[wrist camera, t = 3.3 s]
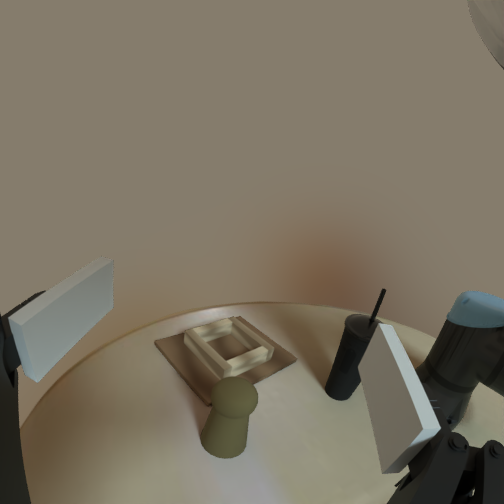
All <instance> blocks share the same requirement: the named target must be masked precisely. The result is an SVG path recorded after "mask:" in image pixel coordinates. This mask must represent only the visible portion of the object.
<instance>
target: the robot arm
mask: <svg viewBox="0 0 504 504" xmlns="http://www.w3.org/2000/svg"><path fill="white" fill-rule="evenodd" d="M467 1H468V7H469V12H470V15H471V18H472V21H473V23H474V25H475V28H476V30H477V32H478V33H479V35H480V37H481V39H482V41H483V42H484V44H485V45H486V47H487V48H488V50H489V51H490V53H491V54H492V55H493V57H494V58H495V60H496V61H497V62H498V63H499V65H500V66H501V67H502V68H503V69H504V0H467ZM113 262H114V261H113V260H112V259H109V258H106V257H102V256H101V257H99V258H98V259H96V260H94V261H93V262H91V263H89V264H88V265H86V266H85V267H83V268H81V269H80V270H78V271H77V272H75V273H73V274H72V275H70V276H69V277H67V278H66V279H64V280H63V281H61V282H59V283H58V284H57V285H55V286H53V287H52V288H51V289H49V290H47V291H42V292H39V293H37V294H34V295H33V296H31V297H30V298H28V300H25V301H24V302H23V303H21V304H19V305H18V306H16V307H15V308H13V309H12V310H11V311H9V312H8V313H6V314H5V315H3V316H2V317H1V314H0V504H31V501H30V496H29V492H28V487H27V482H26V477H25V471H24V464H23V457H22V449H21V440H20V429H19V412H18V372H17V369H16V368H17V367H18V366H19V365H22V368H23V371H24V374H25V375H26V376H28V377H29V378H31V379H33V380H34V381H35V382H37V383H38V382H39V381H40V380H41V379H42V378H43V377H44V376H45V375H46V374H47V373H48V372H49V370H51V369H52V368H53V366H54V365H55V364H56V363H57V362H58V361H59V360H60V359H61V358H62V357H63V356H64V355H65V354H66V353H67V352H68V351H69V350H70V349H71V348H72V347H73V346H74V345H75V344H76V343H77V342H78V341H79V340H80V339H81V338H82V337H83V336H84V335H85V334H86V333H87V332H88V331H89V330H90V329H91V328H92V327H94V326H95V324H97V323H98V322H99V321H100V320H101V319H102V318H103V317H104V316H105V315H106V314H107V313H108V312H109V311H110V310H111V309H112V308H113V307H114V304H113ZM358 370H359V374H360V377H361V381H362V385H363V389H364V393H365V397H366V401H367V405H368V409H369V414H370V418H371V422H372V427H373V431H374V436H375V440H376V445H377V450H378V455H379V460H380V465H381V470H382V474H388V473H399V472H400V471H402V470H403V469H404V468H405V467H406V466H407V465H408V467H409V470H410V472H409V473H408V474H407V475H405V476H404V477H403V478H402V479H401V480H400V481H399V482H398V483H397V484H396V485H395V487H397V486H398V485H399V484H400V485H399V486H398V488H397V489H396V491H395V492H394V494H393V495H392V497H391V498H390V500H389V501H388V503H387V504H504V446H503V445H502V444H501V443H500V442H497V441H495V440H490V441H487V442H486V444H485V445H484V446H483V447H482V448H477V447H471V446H469V443H468V441H467V440H466V439H465V437H463V436H462V435H461V434H459V433H456V432H451V431H452V430H453V429H454V428H455V427H456V426H457V425H458V424H459V422H460V421H461V420H462V418H463V416H464V413H465V411H466V408H467V406H468V403H469V400H470V397H471V394H472V392H473V390H474V389H475V387H476V386H477V384H478V383H479V382H481V383H482V384H484V385H486V386H487V387H489V388H491V389H492V390H494V391H495V392H497V393H498V394H500V395H502V396H503V397H504V300H503V299H501V298H499V297H496V296H494V295H491V294H487V293H483V292H478V291H467V292H463V293H461V294H460V295H459V296H458V297H457V299H456V301H455V303H454V305H453V307H452V309H451V311H450V312H449V313H448V314H447V320H446V321H445V323H444V326H443V328H442V330H441V332H440V334H439V336H438V338H437V339H436V341H435V343H434V345H433V347H432V349H431V350H430V352H429V354H428V356H427V358H426V359H425V361H424V362H423V363H422V364H421V365H420V366H419V367H417V368H416V369H415V370H414V368H413V365H412V363H411V361H410V359H409V357H408V355H407V353H406V351H405V349H404V347H403V345H402V344H401V342H400V340H399V338H398V336H397V334H396V332H395V330H394V328H393V326H392V325H387V324H381V323H378V325H377V328H376V330H375V332H374V334H373V337H372V339H371V341H370V343H369V345H368V347H367V349H366V351H365V354H364V356H363V358H362V360H361V362H360V364H359V366H358ZM474 489H475V492H474V495H473V496H472V493H473V490H474Z"/></svg>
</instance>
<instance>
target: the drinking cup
mask: <svg viewBox="0 0 504 504" xmlns="http://www.w3.org/2000/svg"><path fill="white" fill-rule="evenodd" d="M385 292H386V290H385V289H382V290H381V293H380V296H379V298H378V301H377V303H376V306H375V309H374V311H373V313H372V316H368V315H362V314H353V315H350V316H348V317H347V318H346V320H345V329H344V332H343V335H342V339H341V342H340V345H339V348H338V351H337V354H336V357H335V360H334V363H333V366H332V369H331V372H330V375H329V378H328V381H327V384H326V387H325V390H326V393H327V394H328V395H329V396H330V397H331V398H333V399H336V400H341V401H342V400H347V399H348V398H349V397H350V396H351V395H352V393H353V392H354V391H355V389H356V388H357V386H358V385H359V384H360V382H361V377H360V374H359V370H358V366H359V364H360V362H361V360H362V358H363V356H364V354H365V351H366V349H367V347H368V345H369V343H370V341H371V339H372V337H373V334H374V332H375V330H376V328H377V325H378V323H381V324H384V323H382V322H381V321H379V320H378V319H376V318H375V317H376V315H377V313H378V310H379V307H380V305H381V303H382V300H383V298H384V295H385Z"/></svg>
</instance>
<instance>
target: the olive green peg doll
mask: <svg viewBox="0 0 504 504" xmlns="http://www.w3.org/2000/svg"><path fill="white" fill-rule="evenodd" d="M211 402H212V406H213V407H212V410H211V412H210V414H209V417H208V419H207V422H206V424H205V426H204V429H203V431H202V434H201V438H200V439H201V444H202V446H203V447H204V449H205V450H206V451H207V452H208V453H210V454H211V455H213V456H216V457H219V458H233V457H236V456H238V455H240V454H241V453H242V452H243V451H244V449H245V447H246V441H247V432H248V422H249V415H250V414H251V413H252V412H253V411H254V410H255V408H256V406H257V403H258V393H257V390H256V388H255V387H254V386H253V384H252V383H251V382H249V381H248V380H246V379H244V378H241V377H236V376H231V377H225V378H223V379H221V380H220V381H218V382H217V383H216V384H215V385H214V387H213V388H212V392H211Z"/></svg>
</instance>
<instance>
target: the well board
mask: <svg viewBox="0 0 504 504" xmlns="http://www.w3.org/2000/svg"><path fill="white" fill-rule="evenodd" d="M155 345H156V347H157V348H158V349H159V350H160V352H161V353H162V354H163V355H164V357H165V358H166V359H167V360H168V362H169V363H170V364H171V365H172V366H173V368H174V369H175V370H176V371H177V372H178V373H179V375H180V376H181V377H182V378H183V379H184V380H185V382H186V383H187V384H188V385H189V386H190V387H191V388H192V389H193V391H194V392H195V393H196V394H197V395H198V396H199V397H200V398H201V399H202V400H203V402H204V403H205V404H206V405H207V406H210V405H212V402H211V392H212V388H213V387H214V385H215V384H216V383H217V382H218V381H220V380H221V379H223V378H225V377H231V376H236V377H241V378H244V379H246V380H248V381H249V382H251V383H252V384H255V383H257V382H259V381H261V380H263V379H265V378H267V377H269V376H271V375H272V374H274V373H276V372H278V371H280V370H282V369H283V368H285V367H287V366H289V365H291V364H292V363H294V362H296V360H297V358H296V357H295V356H293V355H292V354H291V353H289V352H288V351H286V350H285V349H284V348H282V347H281V346H280V345H278V344H277V343H275V342H274V341H273V340H271V339H270V338H269V337H267V336H266V335H265V334H263V333H262V332H261V331H259V330H258V329H257V328H255V327H254V326H253V325H251V324H250V323H249V322H247V321H246V320H245V319H243V318H242V317H241V316H239V317H236V318H235V317H234V316H233V317H230V318H227V319H223V320H220V321H217V322H213V323H210V324H207V325H203V326H200V327H196V328H193V329H189V330H186V331H185V333H182V334H178V335H175V336H171V337H167V338H164V339H160V340H156V341H155Z"/></svg>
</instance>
